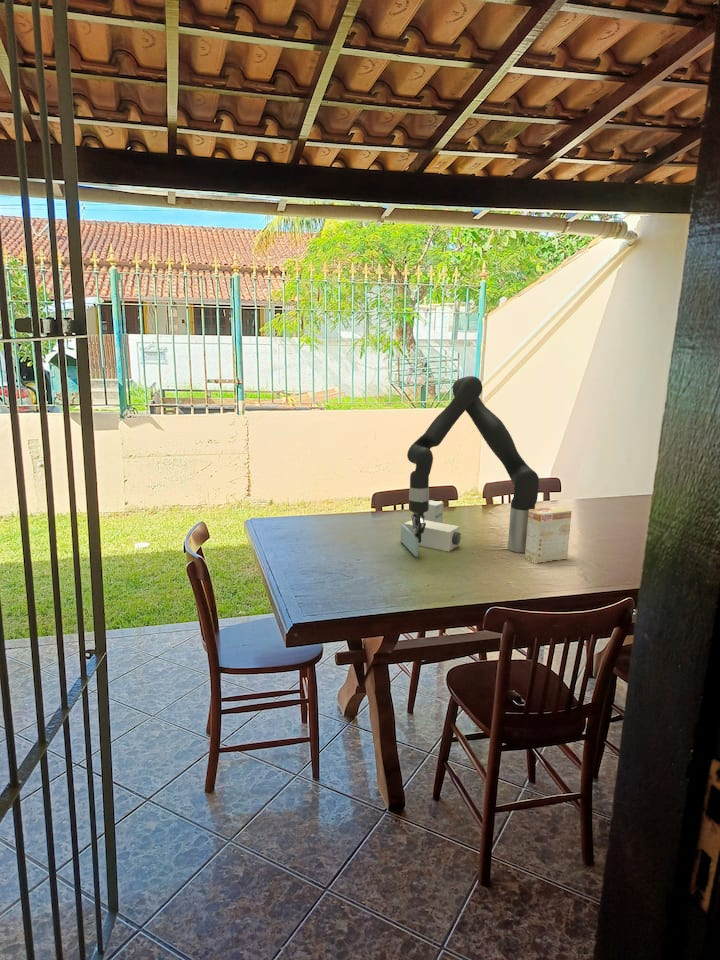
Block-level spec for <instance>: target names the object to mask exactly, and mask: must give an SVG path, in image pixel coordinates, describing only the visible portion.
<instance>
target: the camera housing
mask: <svg viewBox="0 0 720 960" xmlns="http://www.w3.org/2000/svg"><path fill="white" fill-rule="evenodd" d="M424 523H426V526H425V529H424V532H423V533H421V542H420V543H418V547H419V546H420V547H425V548H428V549H434V550H439V551H443V552H447V551H448V553H449V552H450V550H451V551H452V550H454V549H455V548H457V547H459V545H460V542H461V539H462V536H461V535H462V533H461V532H460V526H459V525H453V524H448V523H444V522H442V523H438V522H433V521H427V520H424ZM403 524H404V525H405V526H406V527H407V528H408V529H409V530H410V531H411V532H412V533H413V534H414V535H415V532H414V529H413V523H412V519H411V520H408V521H407V522H405V523H403Z"/></svg>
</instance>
